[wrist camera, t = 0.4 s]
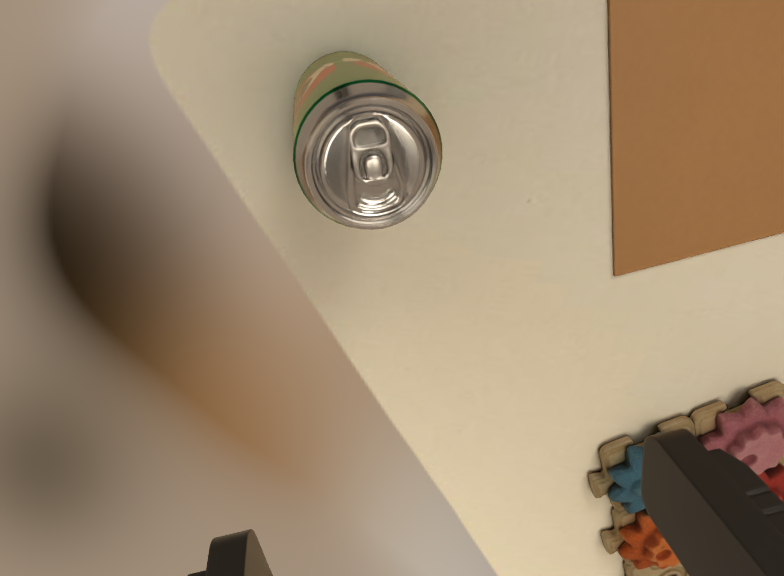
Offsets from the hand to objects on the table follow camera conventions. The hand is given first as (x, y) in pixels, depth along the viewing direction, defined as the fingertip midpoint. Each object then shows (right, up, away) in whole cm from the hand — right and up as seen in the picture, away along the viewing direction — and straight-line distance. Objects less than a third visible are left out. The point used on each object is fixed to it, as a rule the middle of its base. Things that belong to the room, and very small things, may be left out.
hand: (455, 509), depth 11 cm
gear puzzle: (+25, -17, +38) cm, 49 cm away
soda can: (-4, +14, +17) cm, 23 cm away
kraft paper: (+22, +16, +21) cm, 34 cm away
